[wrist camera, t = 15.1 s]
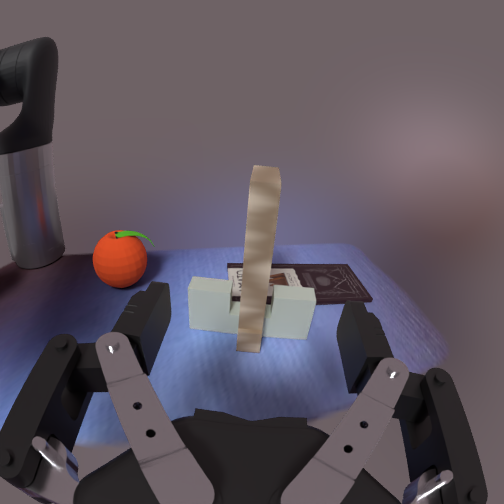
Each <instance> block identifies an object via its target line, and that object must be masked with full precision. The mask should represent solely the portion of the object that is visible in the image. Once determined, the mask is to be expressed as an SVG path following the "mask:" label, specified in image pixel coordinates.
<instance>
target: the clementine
mask: <svg viewBox="0 0 504 504" xmlns="http://www.w3.org/2000/svg"><path fill="white" fill-rule="evenodd" d="M136 236H141V237H144V238H147V237H146V236H145V235H143V234H141V233H138V232H134V231H123V230H118V231H112V232H110V233H108V234H106V235H105V236H104V237H102V238H101V239H100V240H99V242H98V243H97V245H96V247H95V250H94V253H93V265H94V268H95V271H96V274H97V275H98V276H99V278H100V279H101V280H102V281H103V282H105V283H106V284H108V285H109V286H112V287H117V288H124V287H128V286H131V285H133V284H134V283H136V282H137V281H138V280H139V279H140V278H141V277H142V275H143V274H144V271H145V269H146V266H147V253H146V249H145V247H144V246H143V244H142V242H141V241H140V239H138V238H137V237H136ZM147 239H148V240H149V241H151V240H150V239H149V238H147ZM151 243H152V242H151Z"/></svg>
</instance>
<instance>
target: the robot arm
mask: <svg viewBox="0 0 504 504" xmlns="http://www.w3.org/2000/svg"><path fill="white" fill-rule="evenodd" d="M57 72H58V50H57V47H56V44H55V42H54V40H52V39H51V38H49V37H43V38H37V39H34V40H30V41H27V42H23V43H20V44H17V45H14V46H11V47H8V48H5V49H2V50H0V106H8V105H12V104H16V103H20V102H23V105H22V110H21V112H20V114H19V116H18V117H17V118H16V120H15V121H14V122H13V123H12V124H11V125H10V126H9V127H7V128H6V129H4V130H3V131H2V132H0V190H1V196H2V203H1V204H0V210H1V216H2V220H3V225H4V230H5V234H6V238H7V242H8V247H9V251H10V254H11V258H12V260H14V261H16V264H17V265H18V266H19V267H21V268H25V269H32V268H38V267H42V266H45V265H48V264H50V263H52V262H54V261H56V260H57V259H58V258H60V257H61V256H62V255H63V253H64V251H65V245H64V240H63V235H62V229H61V222H60V216H59V209H58V201H57V193H56V185H55V174H54V162H53V146H52V129H53V122H54V121H53V120H54V102H55V90H56V81H57ZM170 319H171V302H170V290H169V284H168V283H162V282H155V281H152V282H151V283H150V285H149V287H148V288H147V290H146V291H139V292H137V293H136V294H135V295H133V296H132V297H131V299H130V301H129V302H128V305H127V306H126V307H125V309H124V312H122V314H121V316H120V317H119V319H118V321H117V322H116V324H115V326H114V328H113V329H112V331H111V332H110V333H106V334H104V335H102V336H101V337H100V338H99V339H98V340H97V342H96V343H80V344H78V343H77V341H76V339H75V338H74V337H73V336H72V335H69V334H60V335H57V336H55V337H53V338H52V339H51V340H50V341H49V342H48V344H47V346H46V347H45V349H44V350H43V352H42V354H41V355H40V357H39V359H38V360H37V362H36V364H35V366H34V367H33V369H32V371H31V373H30V374H29V376H28V378H27V380H26V382H25V383H24V385H23V387H22V389H21V391H20V393H19V395H18V396H17V398H16V400H15V402H14V404H13V406H12V408H11V410H10V412H9V414H8V416H7V418H6V420H5V423H4V425H3V427H2V429H1V431H0V476H1V477H2V478H3V479H5V480H6V481H7V482H9V483H10V484H12V485H13V486H15V487H16V488H18V489H19V490H21V491H22V492H24V493H25V494H27V495H29V496H30V497H32V498H33V499H35V500H37V501H38V502H41V503H43V504H51V503H54V504H401V503H400V502H399V500H398V499H397V498H396V497H394V496H393V495H392V494H391V493H390V492H389V491H388V490H387V489H385V488H384V487H383V486H382V485H381V484H380V483H379V482H378V481H377V480H376V479H374V478H373V477H372V476H371V475H370V474H369V473H368V472H367V471H366V470H365V469H364V468H363V467H364V465H365V463H366V462H367V460H368V459H369V457H370V455H371V454H372V452H373V450H374V448H375V446H376V445H377V443H378V442H379V440H380V438H381V436H382V434H383V433H384V431H385V429H386V427H387V425H388V423H389V421H390V419H391V417H392V418H397V419H399V421H400V426H401V431H402V436H403V441H404V446H405V452H406V458H407V464H408V470H409V476H410V484H408V485H407V487H406V488H405V490H404V494H403V500H402V504H486V501H487V497H488V495H487V494H488V493H487V488H486V483H485V479H484V475H483V471H482V467H481V463H480V459H479V456H478V452H477V449H476V446H475V442H474V439H473V436H472V433H471V429H470V426H469V423H468V421H467V417H466V414H465V412H464V409H463V406H462V403H461V401H460V398H459V396H458V393H457V390H456V388H455V385H454V382H453V380H452V378H451V376H450V375H449V374H448V373H447V372H446V371H444V370H443V369H440V368H431V369H430V370H428V372H427V373H426V375H421V374H416V373H412V372H409V370H408V368H407V366H406V365H405V364H404V363H403V362H402V361H400V360H398V359H395V358H394V356H393V354H392V351H391V349H390V346H389V343H388V341H387V338H386V336H385V333H384V331H383V330H382V326H381V323H380V321H379V319H378V318H377V317H376V316H375V315H374V314H373V313H369V312H367V310H366V307H365V305H364V302H362V301H349V300H347V301H346V303H345V305H344V308H343V311H342V314H341V317H340V320H339V323H338V327H337V342H338V346H339V350H340V355H341V359H342V364H343V369H344V374H345V378H346V383H347V388H348V393H357V395H358V397H357V398H356V400H355V401H354V403H353V404H352V406H351V407H350V409H349V410H348V412H347V413H346V415H345V416H344V417H343V419H342V420H341V422H340V423H339V424H338V426H337V427H336V429H335V430H334V431H333V433H332V434H331V435H330V436H329V435H328V434H326V433H325V432H323V431H321V430H319V429H317V428H314V427H312V426H308V425H307V418H293V417H277V418H270V419H264V420H257V421H248V420H245V419H242V418H239V417H236V416H233V415H230V414H227V413H224V412H217V411H210V410H203V409H196V408H195V413H194V416H187V417H182V418H178V419H175V420H172V421H170V419H169V417H168V416H167V414H166V412H165V410H164V408H163V407H162V405H161V403H160V401H159V399H158V397H157V395H156V393H155V391H154V389H153V387H152V385H151V383H150V381H149V379H148V377H147V376H149V375H150V372H151V370H152V367H153V364H154V362H155V359H156V356H157V354H158V351H159V349H160V346H161V343H162V341H163V338H164V336H165V333H166V331H167V328H168V326H169V323H170ZM94 392H109V394H110V396H111V399H112V402H113V404H114V407H115V410H116V412H117V415H118V417H119V420H120V422H121V425H122V427H123V429H124V432H125V434H126V436H127V439H128V441H129V443H130V445H131V448H130V449H128V450H127V451H125V452H123V453H122V454H120V455H119V456H117V457H116V458H114V459H113V460H111V461H109V462H108V463H106V464H105V465H103V466H101V467H100V468H98V469H97V470H95V471H93V472H91V473H90V474H88V475H87V476H85V477H84V478H83V479H82V480H81V481H80V482H79V479H78V474H77V473H78V463H77V460H76V458H75V457H74V456H73V454H72V450H73V447H74V444H75V441H76V438H77V435H78V433H79V430H80V427H81V424H82V422H83V419H84V416H85V413H86V411H87V408H88V406H89V403H90V400H91V398H92V395H93V393H94Z"/></svg>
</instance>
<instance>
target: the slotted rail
mask: <svg viewBox="0 0 504 504" xmlns="http://www.w3.org/2000/svg"><path fill="white" fill-rule="evenodd" d="M232 288H233V281H232V280H222V279H213V278H204V277H195V276H193V277H192V280H191V282H190V285H189V287H188V303H189V323H190V329H198V330H205V331H214V332H222V333H231V334H238V325H239V312H240V302H236V301H232ZM315 305H316V297H315V292H314V288H306V287H295V286H283V285H274V286H273V293H272V300H271V305H267V304H266V308H265V315H264V322H263V329H262V337H273V338H287V339H302V340H306V339H307V335H308V332H309V328H310V324H311V320H312V317H313V313H314V309H315Z"/></svg>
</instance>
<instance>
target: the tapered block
mask: <svg viewBox="0 0 504 504" xmlns="http://www.w3.org/2000/svg"><path fill="white" fill-rule="evenodd" d="M280 192H281V178H280V173H279V168H276V167H267V166H257V165H254V168H253V172H252V176H251V180H250V189H249V201H248V214H247V224H246V236H245V249H244V261H243V274H242V286H241V299H240V312H239V325H238V335H237V349H236V351H243V352H254V353H259V352H260V345H261V338H262V329H263V322H264V315H265V308H266V300H267V293H268V286H269V278H270V271H271V263H272V256H273V248H274V240H275V232H276V224H277V216H278V207H279V200H280Z"/></svg>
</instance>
